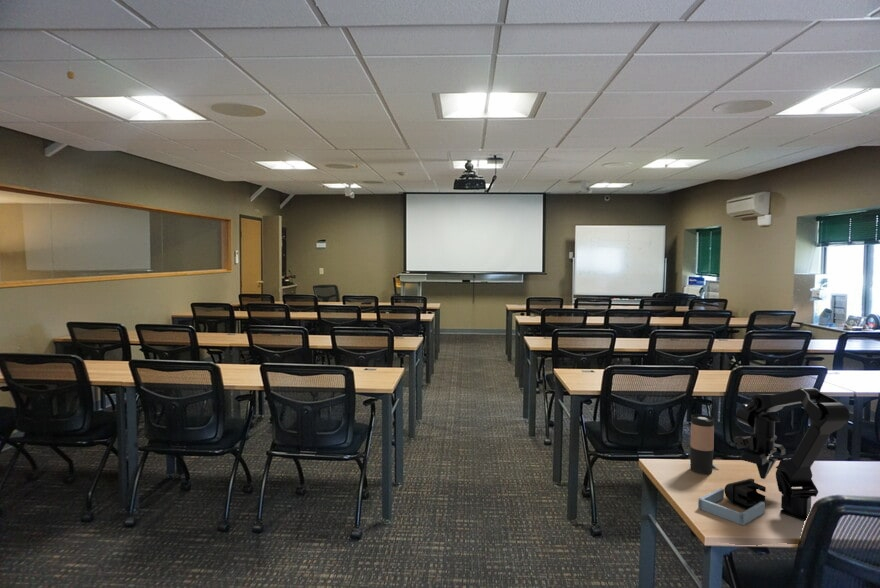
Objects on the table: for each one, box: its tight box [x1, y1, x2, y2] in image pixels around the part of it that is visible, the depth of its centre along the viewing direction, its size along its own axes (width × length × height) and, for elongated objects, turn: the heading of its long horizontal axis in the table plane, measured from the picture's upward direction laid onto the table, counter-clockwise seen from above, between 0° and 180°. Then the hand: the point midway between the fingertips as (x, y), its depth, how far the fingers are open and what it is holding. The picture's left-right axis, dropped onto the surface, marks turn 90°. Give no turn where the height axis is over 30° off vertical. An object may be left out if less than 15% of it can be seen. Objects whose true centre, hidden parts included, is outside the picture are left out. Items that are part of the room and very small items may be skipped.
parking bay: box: [697, 487, 766, 526], centre depth 154 cm, size 13×14×3 cm
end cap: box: [723, 478, 767, 511], centre depth 159 cm, size 10×7×7 cm
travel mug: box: [689, 413, 715, 475], centre depth 185 cm, size 8×8×20 cm
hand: (762, 478), depth 167 cm, fingers closed
